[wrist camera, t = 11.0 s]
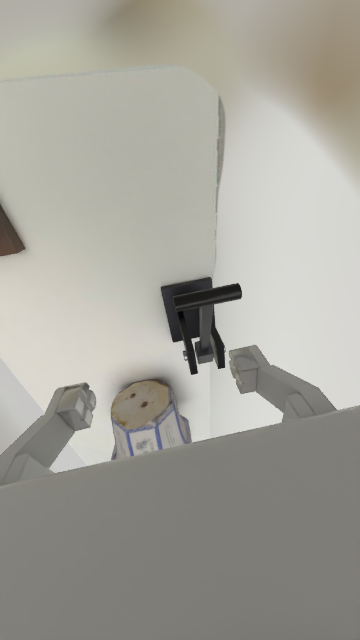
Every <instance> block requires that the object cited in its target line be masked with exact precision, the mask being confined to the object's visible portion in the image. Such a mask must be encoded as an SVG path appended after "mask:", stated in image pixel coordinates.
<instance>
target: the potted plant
mask: <svg viewBox="0 0 360 640" xmlns="http://www.w3.org/2000/svg"><path fill="white" fill-rule="evenodd" d="M111 420H112V426H113V433H114V437H115V446H114V450H113V454H112V458H111V461H113V460H117V459H122V458H126V457H131V456H135V455H140V454H144V453H148V452H153V451H157V450H162V449H166V448H171V447H175V446H180V445H184V444H189V443H192V440H191V433H190V427H189V422H188V420H187V419H186V418H184V417H182V416H181V415H180V414H179V412H178V408H177V404H176V401H175V397H174V393H173V390H172V388H171V387H170V386H169V385H168V384H165V383H163V382H161V381H156V380H145V381H141V382H137V383H134V384H132V385H131V386H129V387H128V388H126V389H125V390H123V391H121V392H119V393H118V394H117V396H116V397H115V399H114V401H113V404H112V407H111Z"/></svg>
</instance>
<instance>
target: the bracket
mask: <svg viewBox="0 0 360 640" xmlns="http://www.w3.org/2000/svg"><path fill="white" fill-rule="evenodd" d="M207 289H212V279H211V278H210V277H209V278H204V279H199V280H194V281H189V282H184V283H179V284H174V285H169V286H164V287H161V292H162V296H163V301H164V305H165V309H166V314H167V318H168V322H169V327H170V331H171V336H172V340H173V342H178V341H183V342H184V346H185V350H186V351H183V355H184V360H185V361H187V360H188V363H189V368H190V372H191V375H193V374H197V373H198V371H197V364H196V358H195V351H194V348H193V344H192V341H191V339H192V338H197V337H200V307H199V308H194V309H189V310H184V311H179V312H175V307H174V302H173V296H177V295H182V294H187V293H192V292H197V291H202V290H207ZM210 342H211V346H212V349H213V352H214V359H215V362H216V364H217V367H218V369H221V368H225V355H224V353H225V352H226V350H225V346H224V343H223V342H222V340H221V338H220V336H219V334H218V332H217V329H216V328H215V316H214V304H213V313H212V323H211V333H210Z"/></svg>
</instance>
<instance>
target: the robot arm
mask: <svg viewBox="0 0 360 640" xmlns="http://www.w3.org/2000/svg"><path fill="white" fill-rule="evenodd" d="M229 357H230V359H231V360H230V361H229V364H230V369H231V372H232V375H233V377H234V378H235V379H236V384H237V387H238V389H239V391H240V393H241V394H244V393H248V392H254V391H256V392H257V393H258V394H260V395H261V396H262V397H264V398H265V399H266V400H267V401H269V402H270V403H271V404H273V405H274V406H275V407H276V408H278V409H279V410H280V411H282V412H283V413H284V414H283V419H282V423H279V424H274V425H269V426H265V427H261V428H256V429H252V430H247V431H243V432H238V433H234V434H229V435H225V436H220V437H216V438H211V439H207V440H202V441H198V442H193V443H189V444H184V445H180V446H175V447H171V448H166V449H162V450H157V451H153V452H148V453H144V454H140V455H135V456H131V457H126V458H122V459H117V460H113V461H108V462H104V463H99V464H95V465H90V466H86V467H81V468H77V469H73V470H68V471H63V472H59V473H54V472H52V471H51V470H50V469H49V467H50V466H51V465H52V463H53V462H54V460H55V459H56V458H57V456H58V455H59V454H60V452H61V451H62V449H63V448H64V447H65V445H66V444H67V442H68V441H69V440H70V438H71V437H72V435H73V434H74V433H75V432H74V431H78V430H82V429H85V428H89V427H90V426H91V422H92V418H93V415H92V413H91V412H92V411H93V410H94V409H95V405H96V397H95V394H94V392H93V391H91V390H89V385H88V384H87V383H80V384H75V385H70V386H65V387H60V388H58V389H57V390H56V391H55V393H54V395H53V397H52V399H51V402H50V404H49V406H48V408H47V410H46V412H45V415H43V416H41V417H40V418H39V419H38V420H37V421H36V422H35V423H33V424H32V425H31V426H30V427H29V428H28V429H27V430H26V431H25V432H24V433H23V434H22V435H21V436H20V437H19V438H18V439H17V440H16V441H15V442H14V443H13V444H12V445H10V446H9V447H8V448H7V449H6V450H5V451H4V452H3V453H2V454H1V455H0V640H360V405H359V406H355V407H350V408H346V409H342V410H337V409H336V408H335V407H334V406H333V405H332V404H331V402H330V401H329V400H328V399H327V398H326V396H325V395H324V394H323V393H322V392H321V391H320V389H319V388H318V387H316V386H314V385H311V384H310V383H308V382H306V381H304V380H302V379H300V378H298V377H296V376H294V375H292V374H290V373H288V372H286V371H284V370H282V369H280V368H278V367H276V366H274V365H270V364H269V362H268V361H267V360H266V358H265V357H264V355H263V354H262V352H261V351H260V349H259V348H258V347H257V346H256V345H252V346H248V347H244V348H239V349H235V350H231V351H229Z"/></svg>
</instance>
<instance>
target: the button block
mask: <svg viewBox="0 0 360 640" xmlns="http://www.w3.org/2000/svg"><path fill="white" fill-rule="evenodd" d="M23 250H25V247H24V246H23V244H22V242H21V240H20V239H19V237H18V235H17V233H16V232H15V230H14V228H13V226H12V225H11V223H10V221H9V219H8V218H7V216H6V214H5V212H4V211H3V209H2V207H1V205H0V256H5V255H10V254H15V253H19V252H21V251H23Z"/></svg>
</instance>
